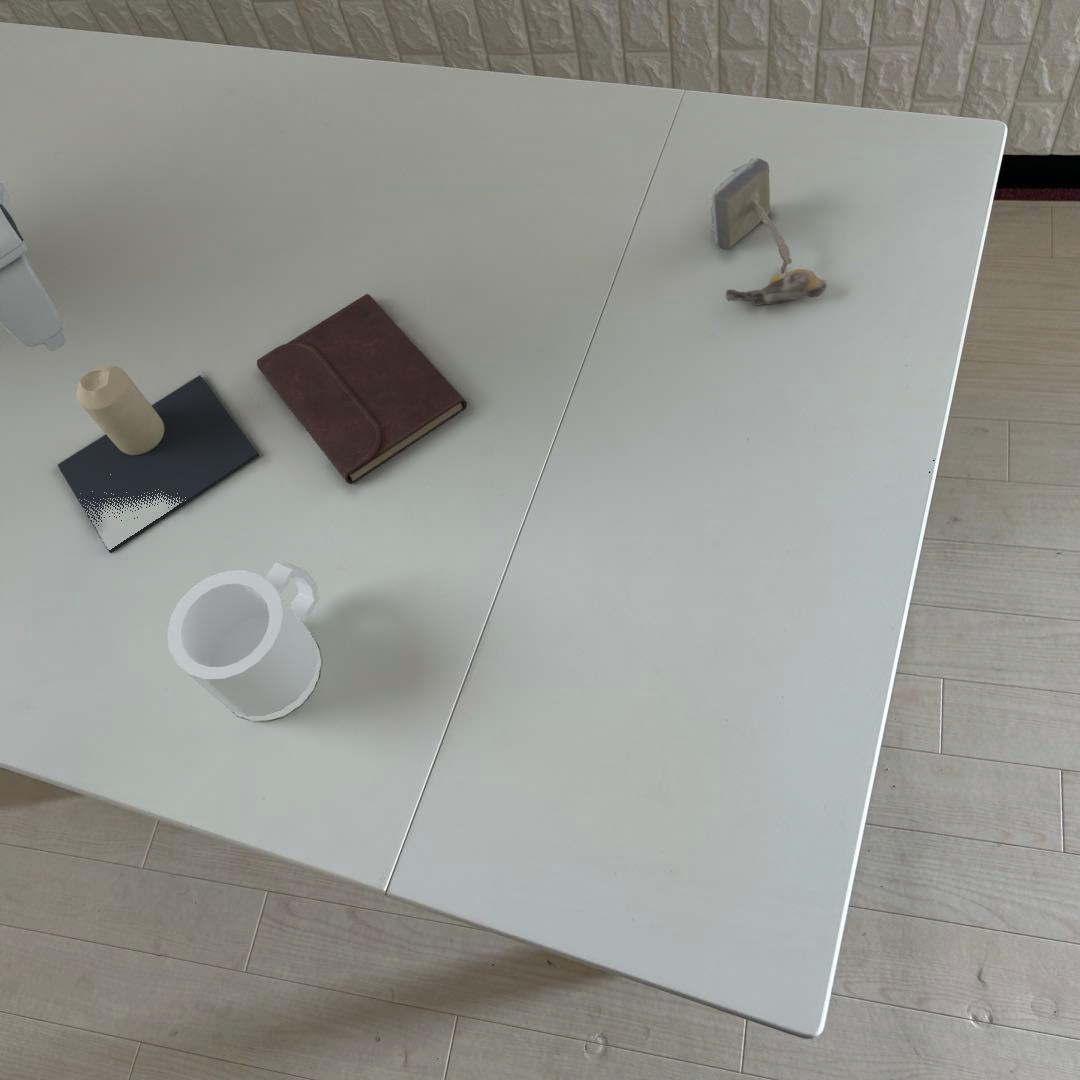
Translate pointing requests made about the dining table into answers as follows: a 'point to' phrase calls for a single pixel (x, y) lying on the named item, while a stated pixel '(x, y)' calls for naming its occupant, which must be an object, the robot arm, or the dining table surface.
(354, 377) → the notebook
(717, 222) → the decorative sculpture
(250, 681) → the mug
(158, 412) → the mat
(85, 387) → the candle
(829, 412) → the dining table surface
